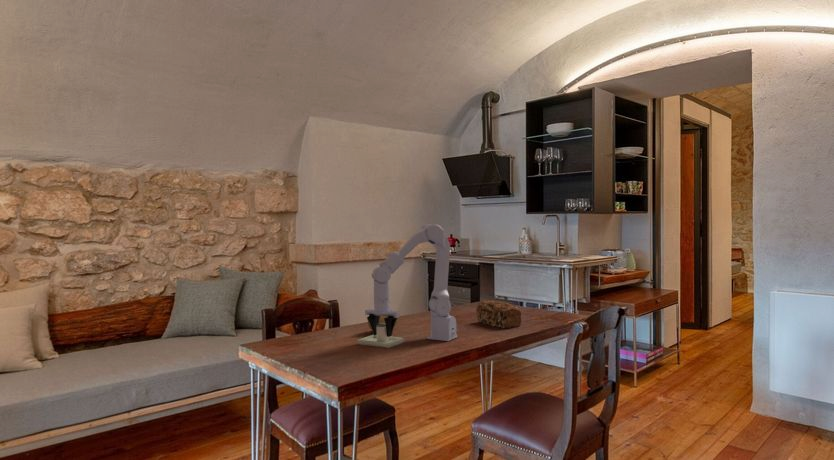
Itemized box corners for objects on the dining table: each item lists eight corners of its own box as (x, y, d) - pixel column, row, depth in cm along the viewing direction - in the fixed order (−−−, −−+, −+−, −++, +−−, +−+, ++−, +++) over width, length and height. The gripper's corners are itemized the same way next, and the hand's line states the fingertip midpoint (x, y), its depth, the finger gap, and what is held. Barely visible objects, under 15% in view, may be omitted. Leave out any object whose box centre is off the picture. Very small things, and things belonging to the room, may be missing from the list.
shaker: (391, 341, 186) (391, 323, 186) (384, 343, 183) (383, 325, 182) (381, 339, 189) (381, 321, 189) (374, 342, 185) (373, 324, 185)
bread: (475, 322, 221) (475, 300, 221) (494, 319, 226) (494, 297, 226) (503, 329, 205) (502, 305, 205) (522, 326, 210) (522, 302, 210)
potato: (404, 331, 207) (404, 311, 207) (375, 336, 198) (375, 316, 198) (391, 327, 215) (390, 309, 214) (363, 332, 206) (362, 313, 206)
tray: (403, 342, 187) (403, 338, 187) (388, 348, 178) (387, 343, 178) (373, 338, 194) (373, 334, 194) (357, 344, 186) (357, 339, 186)
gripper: (359, 299, 186) (360, 335, 186) (391, 301, 178) (392, 339, 178) (371, 296, 192) (372, 332, 192) (402, 298, 184) (403, 335, 184)
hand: (382, 335), depth 186 cm, fingers open, 6 cm apart
